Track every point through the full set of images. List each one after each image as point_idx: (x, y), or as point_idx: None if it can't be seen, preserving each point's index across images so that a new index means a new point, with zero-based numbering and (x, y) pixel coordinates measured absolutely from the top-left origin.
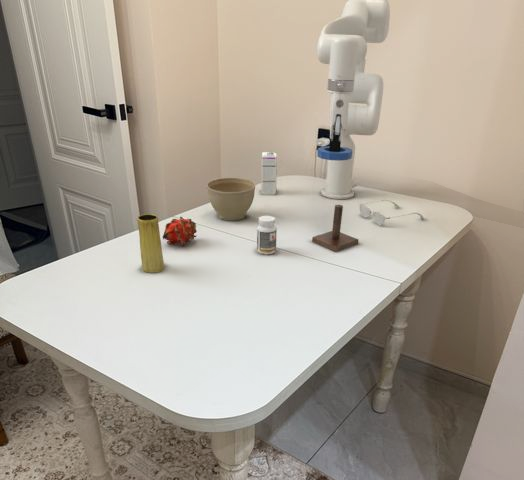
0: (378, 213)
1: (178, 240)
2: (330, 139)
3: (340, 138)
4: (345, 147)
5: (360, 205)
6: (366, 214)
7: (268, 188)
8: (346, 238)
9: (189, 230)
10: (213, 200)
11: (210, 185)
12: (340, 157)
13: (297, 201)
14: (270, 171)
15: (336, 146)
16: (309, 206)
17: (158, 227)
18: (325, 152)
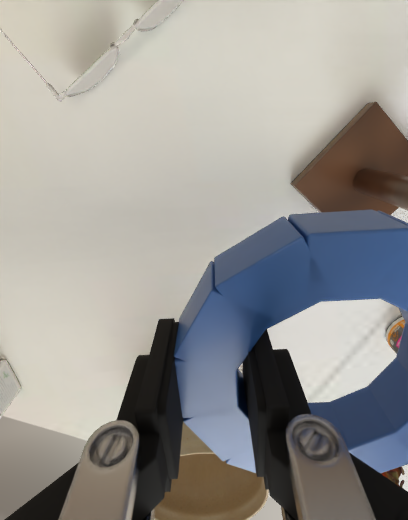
0: (159, 3)
1: (397, 471)
2: (170, 482)
3: (348, 456)
4: (208, 301)
5: (67, 93)
6: (107, 66)
7: (4, 387)
8: (367, 145)
9: (386, 474)
10: (245, 484)
11: (191, 517)
12: None
13: (34, 303)
14: None
15: (297, 394)
16: (64, 268)
17: None
18: None
